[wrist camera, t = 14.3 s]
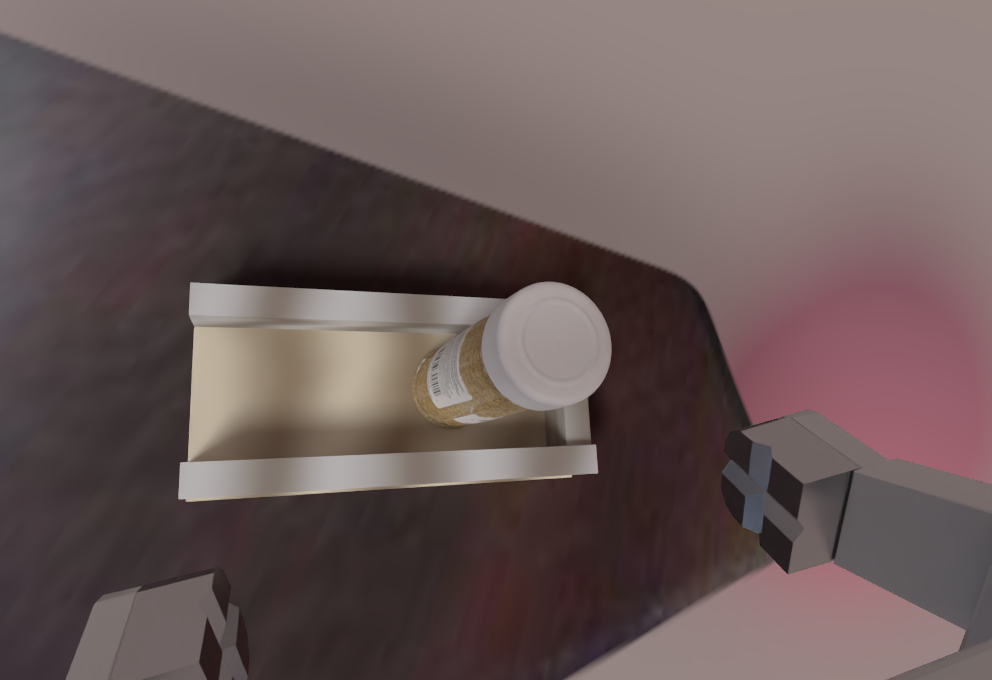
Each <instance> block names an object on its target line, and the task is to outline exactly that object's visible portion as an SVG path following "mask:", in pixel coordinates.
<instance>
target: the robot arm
mask: <svg viewBox="0 0 992 680" xmlns="http://www.w3.org/2000/svg"><path fill="white" fill-rule="evenodd" d="M724 452H725V453H726V455H727V456H728V457H729V458H730V460H731V461H730V462H729V464H728V465H727V466H726V468H725V469H724V471H723V472H722V482H721V490H722V493H723V497H724V500H725V504H726V506H727V507H728V509H729V511H730V512H731V514H732V516H733V517H734V518H735V519H736V520H737V521H738V522H739V523H740V525H741V526H743V527H745V528H747V529H750V530H752V531H755V532H757V533H759V540H760V546H761V547H762V548H763V549H764V550H765V551H766V552H767V553H768V554H769V555H770V556H771V557H772V558H773V559H774V560H775V561H776V563H777V564H778V565H779V566H780V567H781V568H782V569H783V570H784V571H785V572H786V573H787V574H791V573H794V572H798V571H801V570H804V569H808V568H811V567H815V566H818V565H822V564H825V563H828V562H832V561H834V564H836V565H838V566H840V567H842V568H844V569H846V570H848V571H850V572H852V573H854V574H856V575H858V576H860V577H862V578H864V579H866V580H868V581H870V582H872V583H873V584H876V585H877V586H880V587H881V588H883V589H885V590H888V591H889V592H891V593H893V594H895V595H897V596H899V597H901V598H903V599H905V600H907V601H909V602H911V603H913V604H915V605H917V606H919V607H921V608H923V609H925V610H927V611H929V612H931V613H933V614H935V615H937V616H939V617H941V618H943V619H945V620H947V621H949V622H951V623H953V624H955V625H957V626H959V627H961V628H963V629H965V630H966V632H965V635H964V638H963V641H962V643H961V646H960V649H959V651H958V652H956V653H953V654H951V655H948V656H945V657H943V658H940V659H938V660H935V661H933V662H930V663H927V664H925V665H922V666H920V667H918V668H915V669H912V670H910V671H907V672H904V673H902V674H899V675H897V676H895V677H892V678H889V679H887V680H992V484H988V483H985V482H982V481H978V480H974V479H970V478H966V477H963V476H959V475H956V474H952V473H948V472H945V471H941V470H937V469H934V468H930V467H926V466H923V465H919V464H915V463H911V462H908V461H904V460H901V459H894V460H890V461H889V460H887V459H886V458H885V457H883V456H882V455H880V454H879V453H877V452H876V451H874V450H873V449H871V448H870V447H868V446H867V445H865V444H864V443H862V442H861V441H859V440H858V439H857V438H855V437H854V436H852V435H850V434H849V433H848V432H846V431H845V430H843V429H842V428H840V427H839V426H837V425H836V424H834V423H833V422H831V421H830V420H828V419H827V418H825V417H824V416H823V415H821V414H820V413H818V412H815V411H812V410H804V411H800V412H797V413H794V414H790V415H786V416H783V417H781V418H779V419H774V420H770V421H767V422H763V423H760V424H756V425H752V426H748V427H745V428H741V429H737V430H734V431H730V433H729V434H728V436H727V438H726V440H725V448H724ZM230 588H231V585H230V583H229V581H228V579H227V576H226V574H225V572H224V569H222V568H220V567H215V568H211V569H207V570H203V571H199V572H195V573H191V574H186V575H182V576H178V577H174V578H170V579H166V580H162V581H157V582H153V583H149V584H145V585H143V586H141V587H136V588H131V589H127V590H123V591H119V592H115V593H111V594H107V595H103V596H102V597H101V598H100V599H99V600H98V601H97V602H96V603H95V605H94V606H93V609H92V611H91V614H90V617H89V619H88V622H87V625H86V627H85V630H84V632H83V635H82V638H81V640H80V643H79V646H78V648H77V651H76V654H75V656H74V659H73V661H72V664H71V667H70V669H69V672H68V675H67V677H66V680H246V679H247V678H248V668H249V649H248V636H247V632H246V627H245V623H244V619H243V617H242V614H241V611H240V609H239V608H238V607H236V606H234V605H232V604H230V603H229V596H230Z"/></svg>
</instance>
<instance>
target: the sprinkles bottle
mask: <svg viewBox="0 0 992 680" xmlns="http://www.w3.org/2000/svg"><path fill="white" fill-rule="evenodd" d="M610 360H611V338H610V333H609V329H608V326H607V324H606V321H605V319H604V317H603V315H602V314H601V312H600V310H599V309H598V308H597V306H596V305H595V304H594V303H593V302H592V301H591V300H590V299H589V298H588V297H587V296H586V295H585V294H583V293H582V292H581V291H579V290H577V289H575V288H573V287H571V286H569V285H566V284H563V283H557V282H540V283H535V284H532V285H530V286H527V287H525V288H523V289H521V290H519V291H518V292H516V293H514V294H513V295H511V296H510V297H508V298H507V299H505V300H504V301H503V302H502V303H500V304H499V305H498V306H497V307H496V308H495V309H494V311H493V312H492V313H491V315H489V316H488V317H486V318H483V319H481V320H480V321H478V322H476V323H475V324H473V325H472V326H470V327H469V328H467V329H466V330H464V331H463V332H461V333H460V334H459V335H457V336H456V337H454V338H453V339H451V340H450V341H449V342H447V343H446V344H444V345H443V346H442V347H441V348H440V349H438V350H434V351H432V352H431V353H429V354H428V355H426V356H425V357H424V358H423V359H422V360H421V362H420V363H419V364H418V366H417V369H416V371H415V373H414V377H413V380H412V394H413V399H414V401H415V404H416V406H417V407H418V410H419V411H420V412H421V413H422V415H423V416H424V417H425V418H426V419H427V420H428V421H429V422H431V423H433V424H435V425H437V426H440V427H443V428H452V429H458V428H462V427H465V426H468V425H470V424H473V423H480V422H484V421H488V420H493V419H497V418H500V417H503V416H506V415H510V414H513V413H516V412H522V411H525V410H529V409H530V410H536V411H547V410H553V409H558V408H562V407H566V406H569V405H573V404H575V403H578V402H580V401H583V400H584V399H586V398H587V397H589V396H590V395H591V394H593V393H594V392H595V391H596V389H597V388H598V387H599V386H600V385H601V383H602V382H603V380H604V378H605V376H606V374H607V371H608V368H609V365H610Z"/></svg>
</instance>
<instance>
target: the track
mask: <svg viewBox="0 0 992 680" xmlns="http://www.w3.org/2000/svg"><path fill="white" fill-rule="evenodd" d="M504 300H505V299H496V298H477V297H458V296H438V295H419V294H400V293H381V292H361V291H342V290H323V289H304V288H284V287H265V286H246V285H227V284H207V283H190V302H189V316H190V318H191V321H192V323H193V325H194V343H193V364H192V385H191V406H190V428H189V449H188V462H182V463H180V478H179V498H178V499H186V502H190V501H205V500H221V499H237V498H252V497H268V496H284V495H300V494H315V493H331V492H347V491H362V490H378V489H394V488H409V487H425V486H441V485H457V484H472V483H488V482H504V481H519V480H535V479H551V478H567V477H572V475H577V474H593V473H598V466H597V453H596V445H591V435H590V421H589V408H588V397H587V398H586V399H584V400H583V401H580V402H578V403H575V404H573V405H569V406H566V407H562V408H558V409H553V410H547V411H536V410H530V409H529V410H525V411H522V412H516V413H513V414H510V415H506V416H503V417H500V418H497V419H493V420H488V421H484V422H480V423H473V424H470V425H468V426H465V427H462V428H458V429H452V428H443V427H440V426H437V425H435V424H433V423H431V422H429V421H428V420H427V419H426V418H425V417H424V416H423V415H422V413H421V412H420V411H419V410H418V407H417V406H416V404H415V401H414V399H413V394H412V380H413V377H414V373H415V371H416V369H417V366H418V364H419V363H420V362H421V360H422V359H423V358H424V357H425V356H426V355H428V354H429V353H431V352H432V351H434V350H438V349H440V348H441V347H442V346H443V345H444V344H446V343H447V342H449V341H450V340H451V339H453V338H454V337H456V336H457V335H459V334H460V333H461V332H463V331H464V330H466V329H467V328H469V327H470V326H472V325H473V324H475V323H476V322H478V321H480V320H481V319H483V318H486V317H488V316H489V315H491V313H492V312H493V311H494V309H495V308H496V307H497V306H498V305H499V304H500V303H502V302H503V301H504Z"/></svg>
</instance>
